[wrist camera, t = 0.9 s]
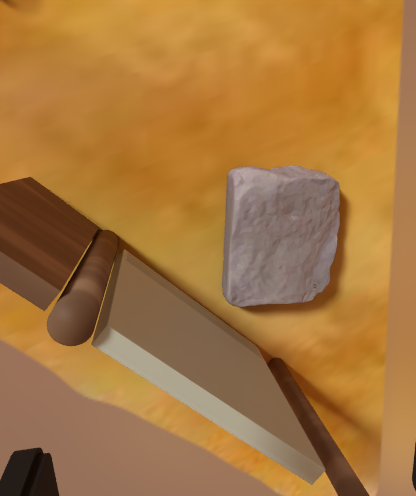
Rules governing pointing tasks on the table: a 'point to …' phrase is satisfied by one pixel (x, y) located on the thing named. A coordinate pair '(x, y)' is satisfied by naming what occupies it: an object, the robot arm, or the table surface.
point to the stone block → (279, 234)
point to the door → (200, 363)
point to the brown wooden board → (93, 288)
